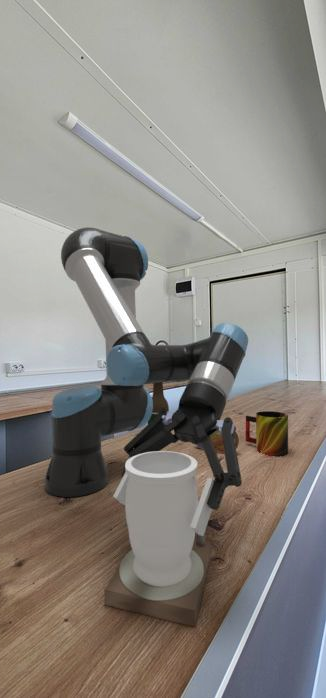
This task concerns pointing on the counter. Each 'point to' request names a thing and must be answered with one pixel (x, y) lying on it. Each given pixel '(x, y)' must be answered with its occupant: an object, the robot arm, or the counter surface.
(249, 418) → the mug
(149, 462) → the jar
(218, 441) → the tin
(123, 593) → the seat board
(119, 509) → the counter surface
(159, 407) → the beer bottle
